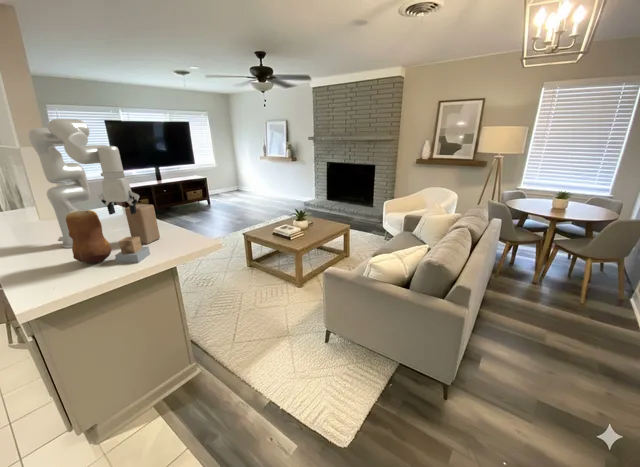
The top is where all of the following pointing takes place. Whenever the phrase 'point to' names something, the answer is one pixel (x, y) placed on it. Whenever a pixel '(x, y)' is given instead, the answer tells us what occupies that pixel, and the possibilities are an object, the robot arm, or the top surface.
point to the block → (143, 223)
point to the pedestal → (133, 256)
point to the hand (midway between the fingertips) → (123, 213)
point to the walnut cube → (130, 244)
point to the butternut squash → (87, 236)
